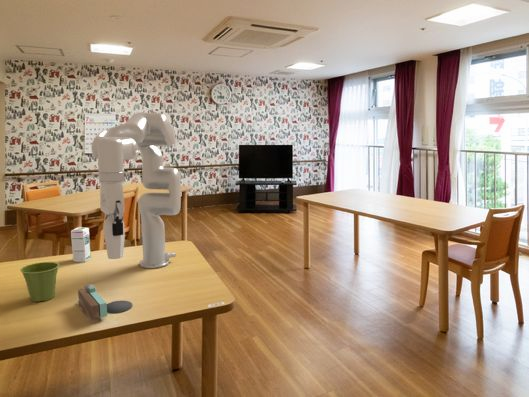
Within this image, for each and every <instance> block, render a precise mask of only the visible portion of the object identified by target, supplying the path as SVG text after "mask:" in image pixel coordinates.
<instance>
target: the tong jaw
mask: <svg viewBox="0 0 529 397" xmlns="http://www.w3.org/2000/svg"><path fill="white" fill-rule="evenodd" d="M88 290H89V291H88V293H89V294H90V296H91V297H92V298H93V299H94V300H95V301H96V303H97V304H98V305H99V319H100V318H105V317H108V313H107V304H108V303H107V301H106V300H105V299H104V298H103V297H102V296H101V295H100V294H99V293H98V292H97V291H96V287H95V285H94V286H90V287H88Z"/></svg>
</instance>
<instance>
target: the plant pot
mask: <svg viewBox="0 0 529 397" xmlns="http://www.w3.org/2000/svg"><path fill="white" fill-rule="evenodd" d="M58 268H60V263H58V262H55V261H43V262H35V263H31V264H26V265H24V266H23V267H21V268H20V273H22V276H23V279H25V283H26V287H27V290H28V294H29V297H30V300H31V301H32V302H36V303H37V302H42V301H50V300H51V299H53V298H54V297H55V293H56V284H57V283H56V282H57V274H58Z"/></svg>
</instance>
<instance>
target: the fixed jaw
mask: <svg viewBox="0 0 529 397" xmlns="http://www.w3.org/2000/svg"><path fill="white" fill-rule="evenodd" d="M90 286H94V287H95V285H94V284H86V285H84V286H83V288H81V289H77V294H78V298H77V305H78V306H79V307H80V309H81V310H82V311H83V312H84V314H85V316H86V317H87V318H88V320H89V321H90V322H91V324H96V323H99V322H100V316H99V305H98V304H97V303H96V301H95V300H94V299H93V298H92V297H91V296H90V294H89V293H88V291H89V290H88V287H90Z"/></svg>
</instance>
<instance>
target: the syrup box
mask: <svg viewBox="0 0 529 397" xmlns="http://www.w3.org/2000/svg"><path fill="white" fill-rule="evenodd" d="M70 239H71V251H72V261H73V262H74V263H76V262H77V263H86V262H88V261H89V260H90V259H92V250H91V239H90V228H89V227H84V226H80V227H76V228H74V229H72V230H70Z"/></svg>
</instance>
